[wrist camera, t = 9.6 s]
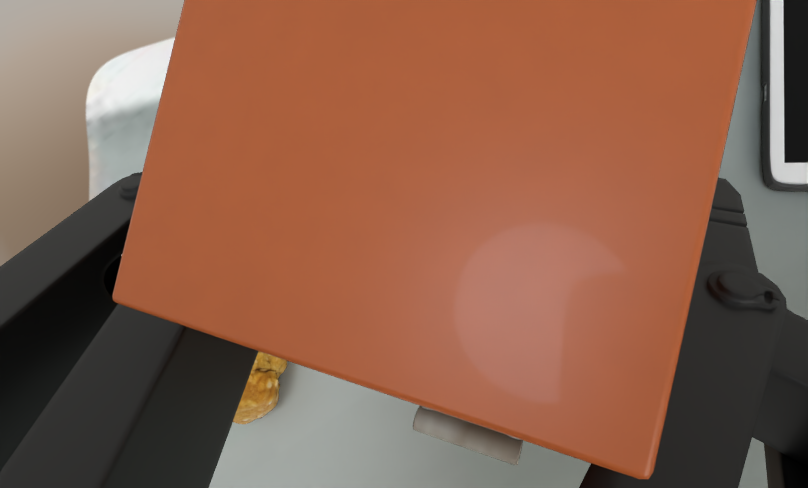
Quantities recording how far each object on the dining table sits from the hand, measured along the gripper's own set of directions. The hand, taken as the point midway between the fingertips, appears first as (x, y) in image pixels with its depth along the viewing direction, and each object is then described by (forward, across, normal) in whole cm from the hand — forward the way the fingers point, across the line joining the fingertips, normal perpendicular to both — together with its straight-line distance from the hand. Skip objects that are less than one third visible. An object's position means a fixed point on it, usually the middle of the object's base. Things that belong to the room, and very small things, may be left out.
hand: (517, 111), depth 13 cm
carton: (+3, 0, -8) cm, 8 cm away
